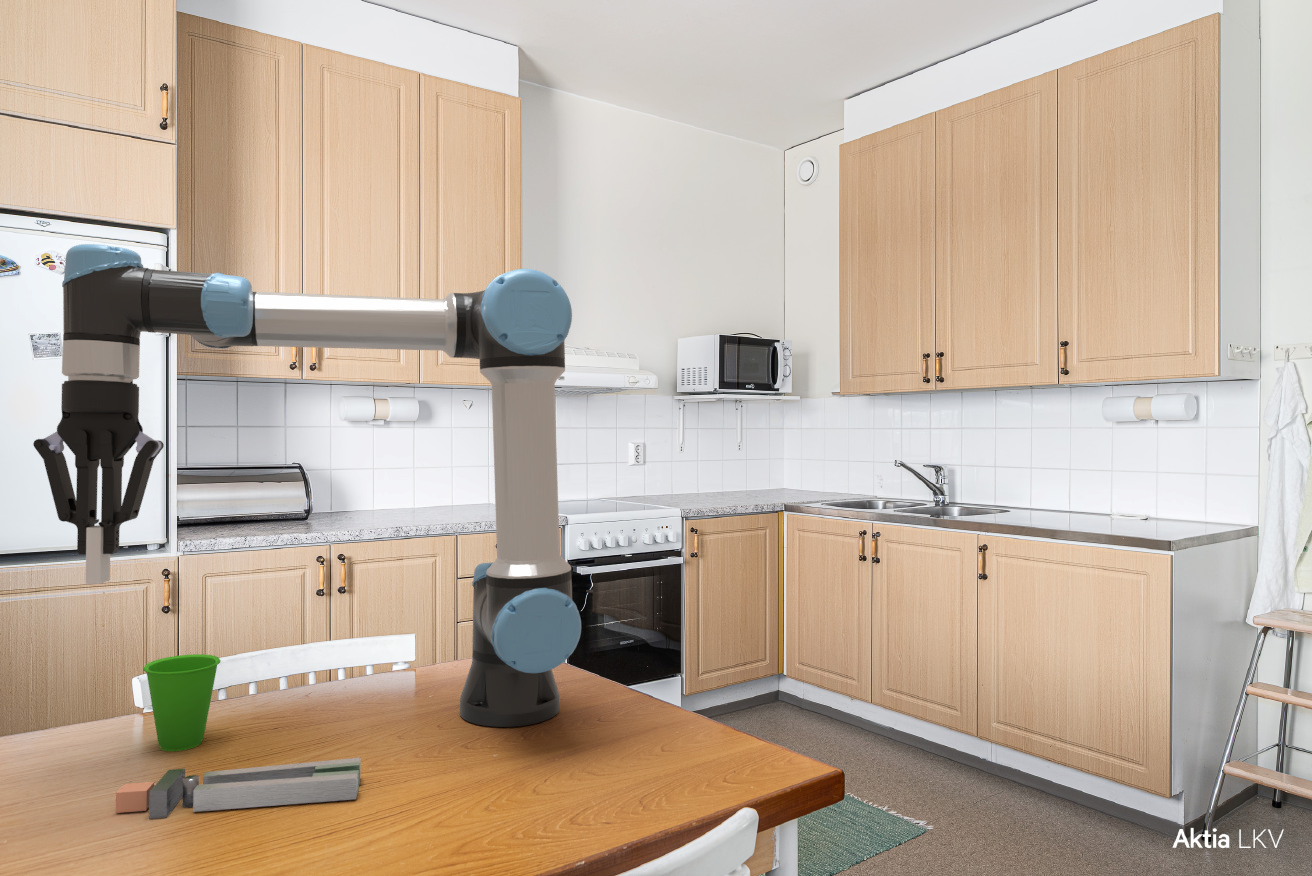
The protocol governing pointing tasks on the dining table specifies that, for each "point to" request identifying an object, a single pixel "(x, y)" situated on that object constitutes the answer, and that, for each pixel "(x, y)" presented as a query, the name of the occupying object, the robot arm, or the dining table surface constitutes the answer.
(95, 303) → the robot arm
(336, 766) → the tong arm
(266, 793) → the tongs base
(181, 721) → the cup
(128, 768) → the dining table surface
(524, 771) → the dining table surface
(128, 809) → the tab
